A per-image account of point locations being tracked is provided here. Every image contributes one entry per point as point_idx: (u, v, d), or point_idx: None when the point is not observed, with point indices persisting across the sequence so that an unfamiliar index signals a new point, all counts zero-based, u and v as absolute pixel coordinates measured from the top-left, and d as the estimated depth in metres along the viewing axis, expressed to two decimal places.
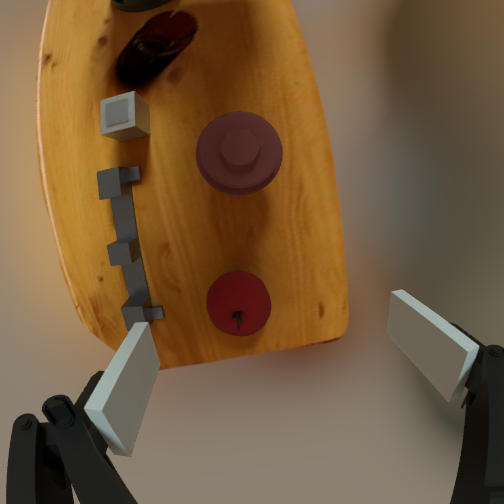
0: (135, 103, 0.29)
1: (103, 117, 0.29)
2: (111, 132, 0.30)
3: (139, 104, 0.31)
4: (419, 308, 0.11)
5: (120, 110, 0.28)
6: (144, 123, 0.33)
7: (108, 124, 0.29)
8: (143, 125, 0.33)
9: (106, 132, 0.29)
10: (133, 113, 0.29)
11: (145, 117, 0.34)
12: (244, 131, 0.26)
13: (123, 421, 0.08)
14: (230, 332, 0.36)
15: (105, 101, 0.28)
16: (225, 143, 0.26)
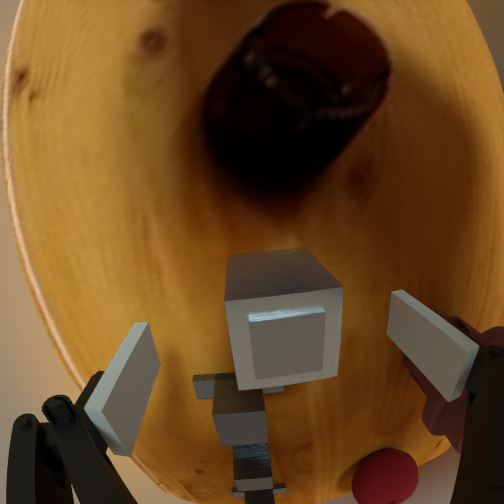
0: (339, 318, 0.12)
1: (242, 353, 0.12)
2: None
3: None
4: (419, 308, 0.11)
5: (302, 345, 0.12)
6: None
7: (265, 375, 0.12)
8: None
9: (255, 386, 0.12)
10: (335, 348, 0.12)
11: None
12: None
13: (123, 421, 0.08)
14: None
15: (244, 307, 0.11)
16: None
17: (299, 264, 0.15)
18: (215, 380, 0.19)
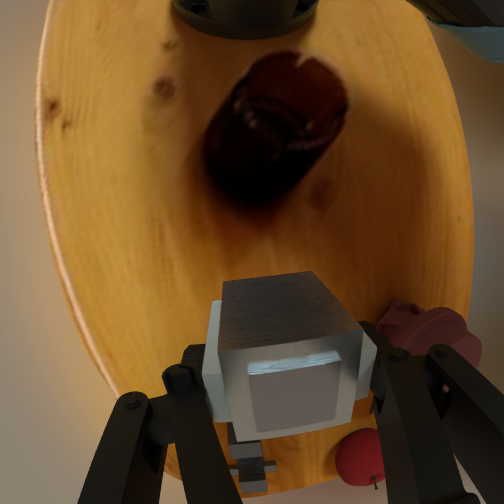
0: (356, 363, 0.09)
1: (241, 405, 0.09)
2: None
3: None
4: None
5: (313, 396, 0.09)
6: None
7: (268, 428, 0.09)
8: None
9: (256, 437, 0.10)
10: (350, 395, 0.09)
11: None
12: None
13: None
14: (360, 485, 0.25)
15: (242, 358, 0.09)
16: None
17: (307, 295, 0.12)
18: None
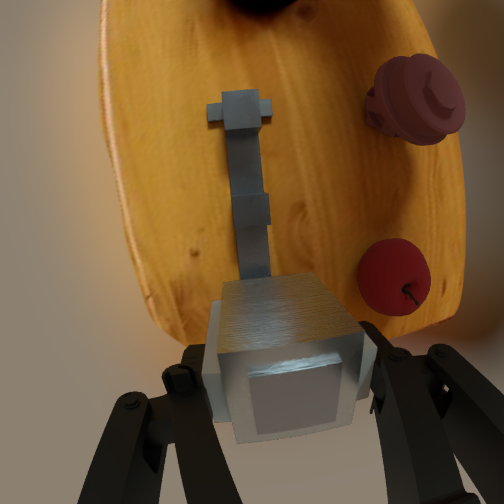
0: (357, 365, 0.09)
1: (241, 408, 0.09)
2: None
3: None
4: None
5: (314, 399, 0.09)
6: None
7: (268, 430, 0.09)
8: None
9: (256, 439, 0.10)
10: (351, 397, 0.09)
11: None
12: (445, 75, 0.16)
13: None
14: (395, 311, 0.27)
15: (242, 360, 0.09)
16: (433, 81, 0.16)
17: (307, 296, 0.12)
18: None
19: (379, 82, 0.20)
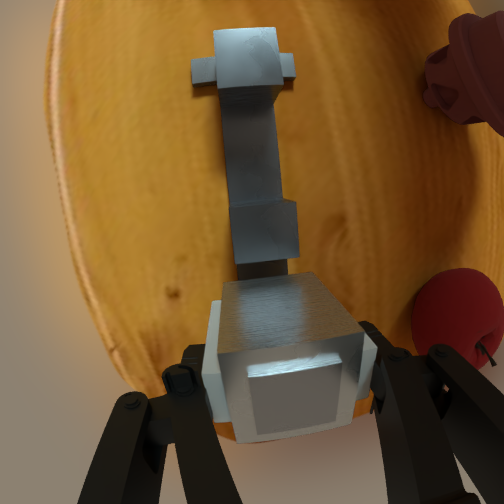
0: (357, 365, 0.09)
1: (241, 408, 0.09)
2: None
3: None
4: None
5: (314, 399, 0.09)
6: None
7: (268, 431, 0.09)
8: None
9: (256, 439, 0.10)
10: (351, 397, 0.09)
11: None
12: None
13: None
14: None
15: (242, 360, 0.09)
16: None
17: (307, 297, 0.12)
18: None
19: (459, 38, 0.09)
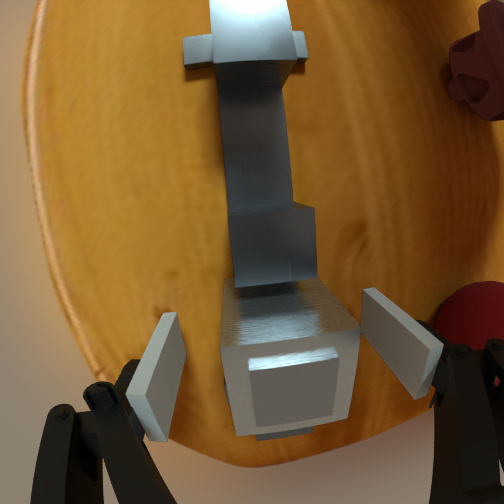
0: (353, 360, 0.10)
1: (241, 400, 0.10)
2: None
3: None
4: (387, 305, 0.12)
5: (311, 392, 0.09)
6: None
7: (267, 423, 0.10)
8: None
9: (255, 432, 0.10)
10: (348, 391, 0.10)
11: None
12: None
13: (161, 406, 0.09)
14: None
15: (243, 354, 0.09)
16: None
17: (306, 294, 0.13)
18: None
19: (492, 24, 0.06)
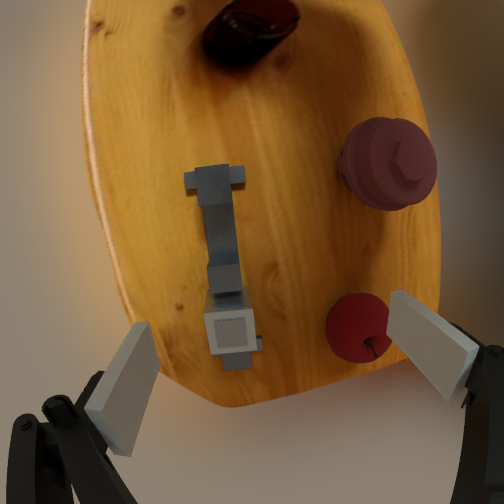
0: None
1: (211, 335, 0.28)
2: None
3: None
4: (419, 308, 0.11)
5: (237, 332, 0.28)
6: None
7: (221, 346, 0.28)
8: None
9: (218, 352, 0.28)
10: (253, 335, 0.28)
11: None
12: (416, 143, 0.20)
13: (123, 421, 0.08)
14: (358, 360, 0.30)
15: (211, 316, 0.27)
16: (400, 153, 0.20)
17: (240, 296, 0.31)
18: None
19: (347, 152, 0.24)
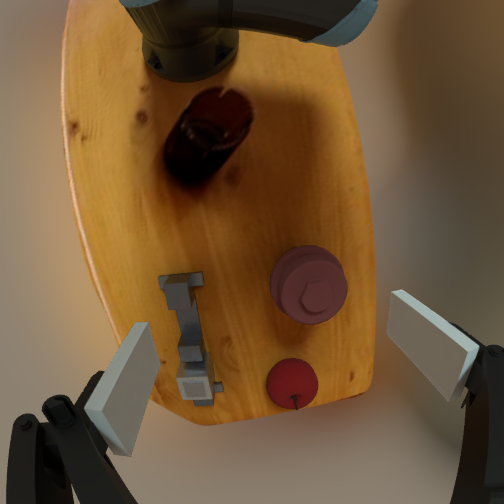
0: (209, 383, 0.39)
1: (182, 389, 0.39)
2: None
3: (209, 375, 0.41)
4: (419, 308, 0.11)
5: (198, 389, 0.39)
6: (212, 379, 0.43)
7: (189, 396, 0.39)
8: (212, 382, 0.43)
9: (187, 399, 0.40)
10: (209, 391, 0.39)
11: (211, 371, 0.44)
12: (322, 284, 0.31)
13: (123, 421, 0.08)
14: (287, 408, 0.41)
15: (181, 379, 0.38)
16: (306, 295, 0.31)
17: (201, 363, 0.42)
18: (168, 276, 0.41)
19: (271, 281, 0.35)
